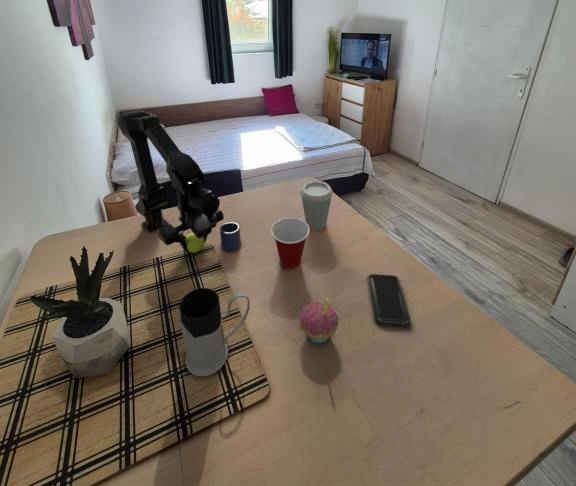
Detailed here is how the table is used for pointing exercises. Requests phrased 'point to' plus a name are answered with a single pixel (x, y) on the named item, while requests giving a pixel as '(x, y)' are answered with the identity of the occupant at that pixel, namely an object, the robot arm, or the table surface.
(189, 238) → the ball
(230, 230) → the tumbler
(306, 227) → the plastic cup
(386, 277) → the phone
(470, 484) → the table surface
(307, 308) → the cupcake
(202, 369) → the grey mug
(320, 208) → the disposable coffee cup
